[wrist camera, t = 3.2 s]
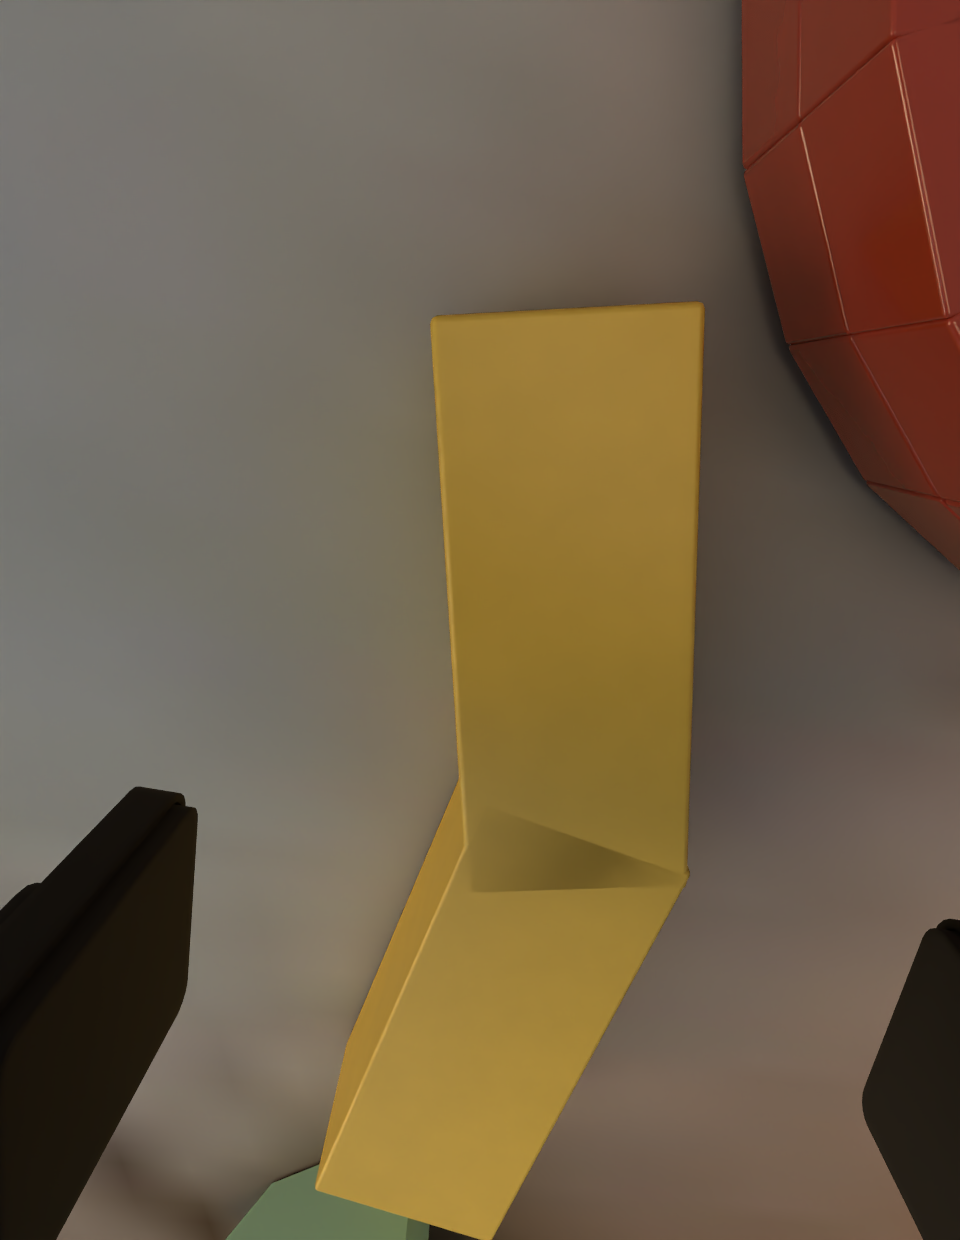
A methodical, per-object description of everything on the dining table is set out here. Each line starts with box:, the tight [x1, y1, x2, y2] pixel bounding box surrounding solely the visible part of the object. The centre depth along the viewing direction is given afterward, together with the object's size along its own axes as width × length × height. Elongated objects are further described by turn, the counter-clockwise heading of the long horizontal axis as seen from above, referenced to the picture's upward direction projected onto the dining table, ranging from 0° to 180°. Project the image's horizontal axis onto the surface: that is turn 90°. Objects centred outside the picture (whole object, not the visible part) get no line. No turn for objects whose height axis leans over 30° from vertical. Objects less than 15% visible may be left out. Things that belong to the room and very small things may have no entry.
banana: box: [315, 301, 705, 1240], centre depth 13 cm, size 5×16×3 cm, turn 171°
